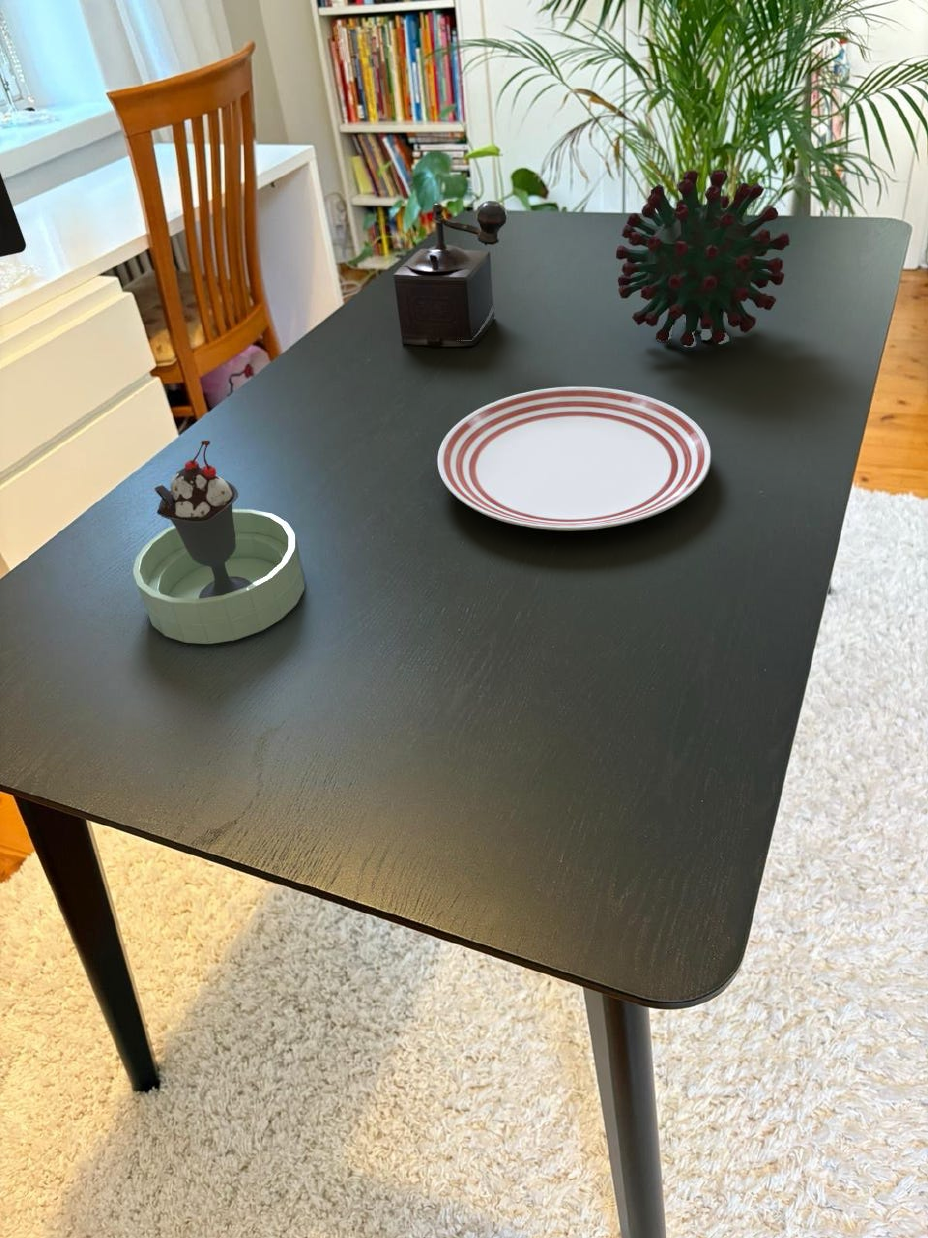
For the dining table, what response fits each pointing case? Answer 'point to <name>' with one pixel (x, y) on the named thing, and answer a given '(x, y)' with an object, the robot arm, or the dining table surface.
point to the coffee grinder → (449, 285)
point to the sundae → (204, 521)
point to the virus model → (700, 258)
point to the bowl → (179, 580)
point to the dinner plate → (574, 458)
